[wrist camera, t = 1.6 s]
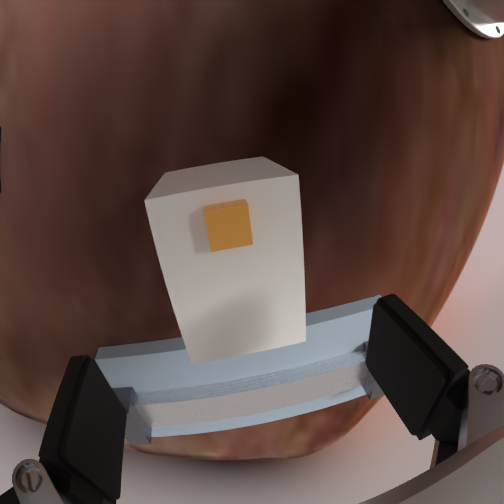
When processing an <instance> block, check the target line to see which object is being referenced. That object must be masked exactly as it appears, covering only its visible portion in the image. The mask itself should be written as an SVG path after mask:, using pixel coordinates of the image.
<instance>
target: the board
mask: <svg viewBox="0 0 504 504" xmlns="http://www.w3.org/2000/svg"><path fill="white" fill-rule="evenodd" d="M380 297H382V296H381V295H377V296H374V297H370V298H366V299H362V300H359V301H355V302H351V303H347V304H343V305H339V306H335V307H331V308H327V309H323V310H319V311H315V312H310V313H306V341H305V342H301V343H297V344H293V345H289V346H284V347H280V348H275V349H270V350H266V351H261V352H256V353H251V354H246V355H240V356H235V357H229V358H224V359H218V360H212V361H205V362H199V363H191V360H190V358H189V355H188V352H187V349H186V346H185V343H184V340H183V337H179V338H172V339H165V340H158V341H150V342H142V343H134V344H125V345H116V346H107V347H99V348H98V351H97V354H96V357H95V361H96V362H97V364H98V366H99V368H100V369H101V371H102V373H103V374H104V376H105V378H106V379H107V381H108V382H109V384H110V386H111V387H112V388H119V387H133V388H134V390H135V392H143V391H155V390H165V389H174V388H183V387H190V386H198V385H205V384H212V383H218V382H224V381H230V380H236V379H241V378H247V377H252V376H257V375H262V374H266V373H271V372H276V371H280V370H285V369H289V368H293V367H297V366H301V365H305V364H309V363H313V362H317V361H321V360H324V359H328V358H332V357H335V356H339V355H342V354H345V353H349V352H352V351H355V350H359V349H362V348H363V344H364V342H365V341H368V340H369V333H370V326H371V319H372V311H373V305H374V304H375V303H376V302H377V299H378V298H380ZM365 394H366V393H365V391H364V389H363V387H362V386H359V387H356V388H353V389H350V390H346V391H343V392H340V393H337V394H334V395H330V396H327V397H324V398H320V399H317V400H313V401H309V402H305V403H302V404H298V405H294V406H290V407H285V408H281V409H277V410H272V411H268V412H263V413H258V414H253V415H247V416H242V417H236V418H230V419H223V420H217V421H209V422H202V423H193V424H184V425H173V426H159V427H152V434H151V437H161V436H176V435H187V434H197V433H205V432H213V431H220V430H227V429H234V428H240V427H245V426H251V425H256V424H261V423H266V422H271V421H275V420H280V419H284V418H288V417H292V416H296V415H300V414H304V413H308V412H312V411H315V410H319V409H322V408H326V407H329V406H332V405H336V404H339V403H342V402H345V401H348V400H351V399H354V398H357V397H360V396H363V395H365Z"/></svg>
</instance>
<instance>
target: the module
mask: <svg viewBox="0 0 504 504" xmlns="http://www.w3.org/2000/svg"><path fill="white" fill-rule="evenodd" d="M144 201H145V206H146V210H147V214H148V219H149V223H150V227H151V231H152V235H153V239H154V243H155V247H156V251H157V254H158V258H159V262H160V266H161V269H162V273H163V276H164V280H165V283H166V287H167V290H168V293H169V297H170V300H171V303H172V306H173V310H174V313H175V316H176V319H177V322H178V325H179V328H180V331H181V334H182V337H183V340H184V343H185V346H186V349H187V352H188V355H189V358H190V360H191V363H199V362H205V361H212V360H218V359H224V358H229V357H235V356H240V355H246V354H251V353H256V352H261V351H266V350H270V349H275V348H280V347H284V346H289V345H293V344H297V343H301V342H305V341H306V310H305V277H304V253H303V234H302V217H301V202H300V188H299V175H298V174H296V173H294V172H292V171H290V170H288V169H287V168H285V167H283V166H281V165H279V164H277V163H275V162H273V161H271V160H269V159H267V158H265V157H255V158H248V159H241V160H234V161H227V162H221V163H215V164H209V165H203V166H197V167H192V168H186V169H181V170H176V171H171V172H166V173H164V175H163V176H162V177H161V179H160V180H159V181H158V183H157V184H156V185H155V187H154V188H153V189H152V191H151V192H150V193H149V195H148V196H147V197H146V199H145V200H144Z"/></svg>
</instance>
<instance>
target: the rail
mask: <svg viewBox="0 0 504 504" xmlns="http://www.w3.org/2000/svg"><path fill="white" fill-rule="evenodd" d="M367 347H368V341H365V342H364V344H363V348H362V349H359V350H355V351H352V352H349V353H345V354H342V355H339V356H335V357H332V358H328V359H324V360H321V361H317V362H313V363H309V364H305V365H301V366H297V367H293V368H289V369H285V370H280V371H276V372H271V373H266V374H262V375H257V376H252V377H247V378H241V379H236V380H230V381H224V382H218V383H212V384H205V385H198V386H190V387H183V388H174V389H165V390H155V391H143V392H135V390H134V388H133V387H119V388H112V390H113V391H114V393H115V395H116V396H117V398H118V399H119V401H120V402H121V404H122V405H123V407H124V408H125V411H126V415H127V420H126V429H125V438H126V439H127V441H128V442H129V443H130V444H131V445H140V444H151V434H152V427H159V426H173V425H184V424H193V423H202V422H209V421H217V420H223V419H230V418H236V417H242V416H247V415H253V414H258V413H263V412H268V411H272V410H277V409H281V408H285V407H290V406H294V405H298V404H302V403H305V402H309V401H313V400H317V399H320V398H324V397H327V396H330V395H334V394H337V393H340V392H343V391H346V390H350V389H353V388H356V387H359V386H362V387H363V389H364V391H365V393H366V394H367V396H368V398H369V400H372V399H375V398H378V397H380V396H383V395H385V394H384V393H383V391H382V390H381V388H380V387H379V385H378V384H377V382H376V381H375V379H374V378H373V376H372V375H371V373H370V372H369V370H368V369H367V367H366V363H365V359H366V353H367Z"/></svg>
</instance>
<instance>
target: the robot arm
mask: <svg viewBox="0 0 504 504" xmlns="http://www.w3.org/2000/svg"><path fill="white" fill-rule="evenodd" d="M442 1H443V2H444V3H445V5H446V6H447V7H448V8H449V9H450V11H451V12H452V13H453V14H454V15H455V16H456V17H457V18H458V19H459V20H460V21H461V22H462V23H463V24H464V25H465V26H466V27H467V28H469V29H470V30H471V31H472V32H474V33H476V34H477V35H479V36H481V37H484V38H499V37H501V36H502V35H503V34H504V0H442ZM365 363H366V367H367V369H368V370H369V372H370V373H371V375H372V376H373V378H374V379H375V381H376V382H377V384H378V385H379V387H380V388H381V390H382V391H383V393H384V394H385V395H386V397H387V399H388V400H389V402H390V403H391V404H392V406H393V408H394V409H395V410H396V412H397V413H398V415H399V417H400V418H401V420H402V421H403V423H404V424H405V426H406V427H407V429H408V430H409V432H410V433H411V434H412V435H416V436H417V437H418V439H419V440H422V439H423V438H425V437H427V436H429V435H430V434H432V435H433V436H434V438H435V445H434V450H433V456H432V461H431V465H430V469H429V470H427V471H426V472H424V473H422V474H420V475H419V476H417V477H415V478H413V479H411V480H409V481H407V482H405V483H403V484H401V485H399V486H398V487H395V488H393V489H391V490H389V491H387V492H385V493H383V494H380V495H378V496H376V497H374V498H371V499H369V500H366V501H364V502H362V503H359V504H504V374H503V373H502V371H501V370H499V369H498V368H497V367H495V366H493V365H488V364H482V365H478V366H476V367H475V368H473V369H472V371H471V372H470V371H469V370H468V365H467V364H466V363H465V362H464V361H463V360H462V359H461V358H460V357H459V356H458V355H457V354H456V353H455V352H454V351H453V350H452V349H451V348H450V347H449V346H448V345H447V344H446V343H445V342H444V341H443V340H442V339H441V338H440V337H439V336H438V335H437V334H436V333H435V332H434V331H433V330H432V329H431V328H430V327H429V326H428V325H427V324H426V323H425V322H424V321H423V320H422V319H421V318H420V317H419V316H418V315H417V314H416V313H415V312H414V311H413V310H411V309H410V308H409V307H408V306H407V305H406V304H405V303H404V302H403V301H402V300H401V299H400V298H399V297H397V296H396V295H395V294H390V295H387V296H384V297H380V298H378V299H377V302H376V303H375V304H374V305H373V311H372V319H371V326H370V333H369V340H368V347H367V353H366V359H365ZM126 420H127V415H126V411H125V408H124V407H123V405H122V404H121V402H120V401H119V399H118V398H117V396H116V395H115V393H114V391H113V390H112V388H111V387H110V385H109V383H108V382H107V380H106V378H105V377H104V375H103V373H102V372H101V370H100V368H99V366H98V365H97V363H96V361H95V360H94V359H91V358H90V357H89V356H88V355H83V356H73V357H71V359H70V361H69V363H68V366H67V369H66V371H65V374H64V376H63V379H62V382H61V384H60V387H59V390H58V393H57V396H56V399H55V401H54V404H53V407H52V410H51V414H50V417H49V420H48V423H47V427H46V430H45V433H44V437H43V440H42V444H41V447H40V451H39V457H40V459H39V462H38V461H37V460H34V459H26V460H23V461H21V462H20V463H19V464H18V465H17V466H16V467H15V469H14V471H13V474H12V483H13V487H12V488H11V489H9V490H8V491H6V492H5V493H3V494H2V495H1V496H0V504H116V499H119V498H120V492H121V472H122V460H123V459H122V458H123V448H124V438H125V429H126Z"/></svg>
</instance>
